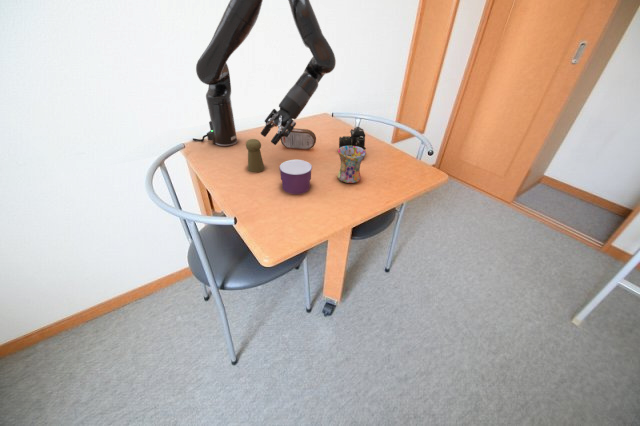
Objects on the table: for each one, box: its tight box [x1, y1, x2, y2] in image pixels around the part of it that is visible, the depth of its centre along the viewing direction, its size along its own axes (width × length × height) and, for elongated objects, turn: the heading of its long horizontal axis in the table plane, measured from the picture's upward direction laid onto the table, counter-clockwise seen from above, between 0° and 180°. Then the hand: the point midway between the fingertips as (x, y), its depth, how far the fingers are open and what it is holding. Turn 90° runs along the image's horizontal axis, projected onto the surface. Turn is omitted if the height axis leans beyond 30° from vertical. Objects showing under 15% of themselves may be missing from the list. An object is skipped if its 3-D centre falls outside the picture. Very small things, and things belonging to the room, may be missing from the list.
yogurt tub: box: [278, 159, 313, 195], centre depth 89 cm, size 10×10×8 cm
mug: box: [336, 146, 367, 184], centre depth 95 cm, size 12×9×11 cm
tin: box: [280, 127, 317, 151], centre depth 114 cm, size 15×3×8 cm, turn 84°
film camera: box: [338, 126, 367, 151], centre depth 113 cm, size 18×12×10 cm
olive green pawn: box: [245, 138, 265, 174], centre depth 97 cm, size 6×6×11 cm
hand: (267, 139), depth 97 cm, fingers open, 8 cm apart
